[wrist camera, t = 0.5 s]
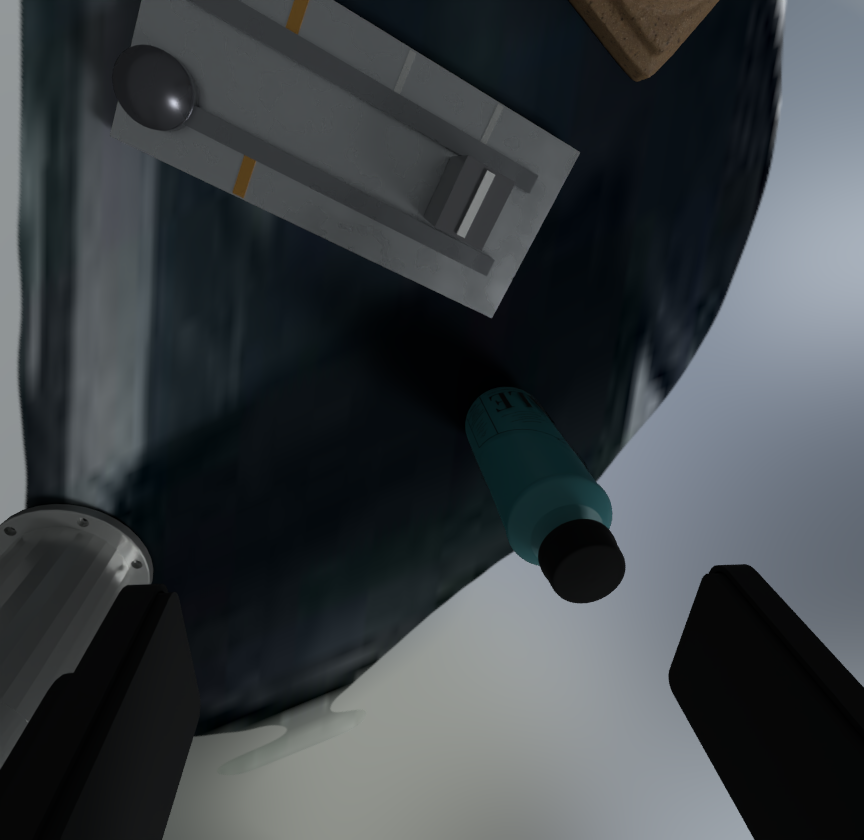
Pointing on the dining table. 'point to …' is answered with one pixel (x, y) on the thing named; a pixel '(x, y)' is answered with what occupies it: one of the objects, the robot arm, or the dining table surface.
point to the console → (334, 132)
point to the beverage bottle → (545, 495)
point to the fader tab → (468, 200)
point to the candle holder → (642, 29)
